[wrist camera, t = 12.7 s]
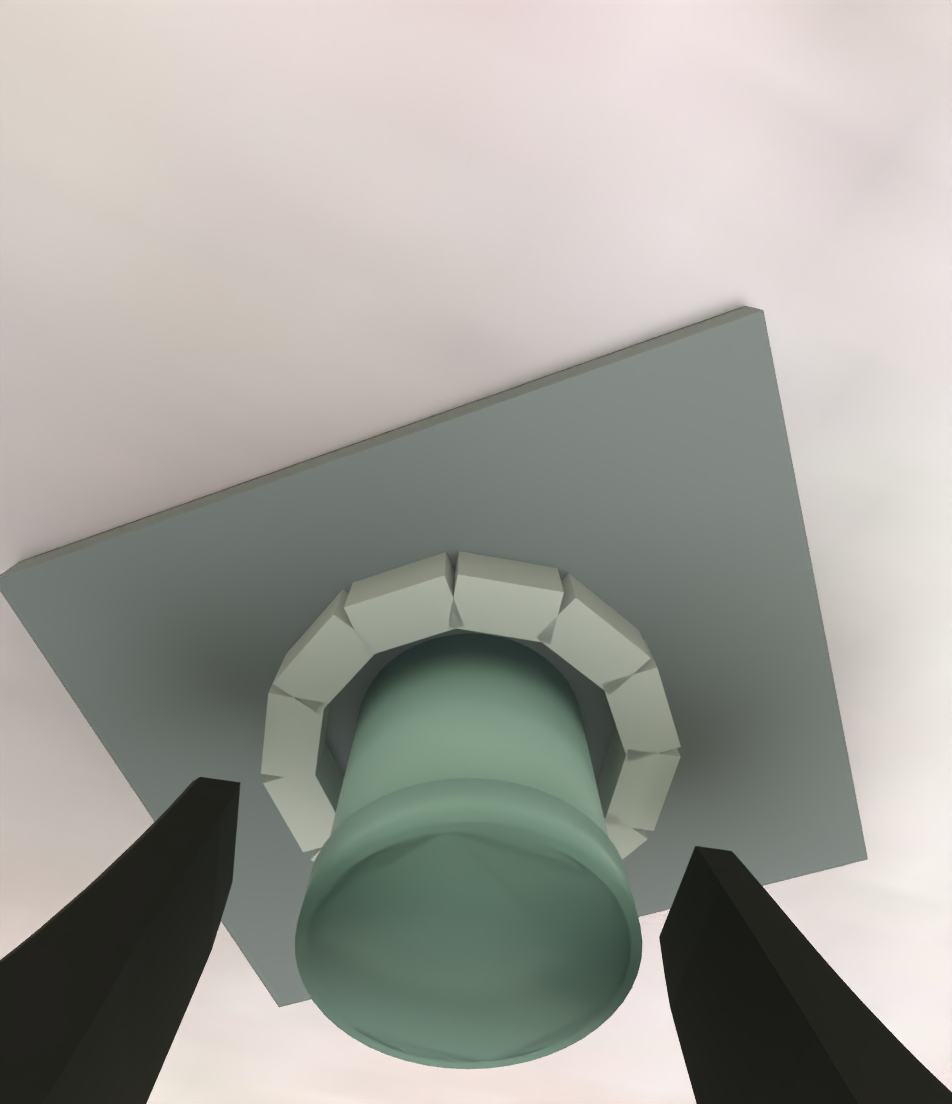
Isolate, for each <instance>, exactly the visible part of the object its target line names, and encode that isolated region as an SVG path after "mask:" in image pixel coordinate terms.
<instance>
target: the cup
mask: <svg viewBox="0 0 952 1104" xmlns="http://www.w3.org/2000/svg"><path fill="white" fill-rule="evenodd" d="M641 957H642V936H641V929H640V923H639V919H638V915H637V911H636V907H635V903H634V898H633V894H632V890H631V886H630V882H629V878H628V875H627V872H626V869H625V866H624V863H623V860H622V858H621V857H620V855H619V853H618V851H617V849H616V847H615V846H614V844H613V843H612V842H611V840H610V839H609V838H608V833H607V829H606V824H605V820H604V816H603V811H602V807H601V802H600V798H599V794H598V789H597V785H596V780H595V776H594V772H593V767H592V763H591V758H590V754H589V750H588V745H587V741H586V736H585V732H584V728H583V723H582V719H581V714H580V710H579V706H578V703H577V700H576V697H575V695H574V693H573V691H572V689H571V687H570V685H569V683H568V682H567V680H566V679H565V678H564V676H563V675H562V674H561V672H560V671H559V670H558V669H557V668H556V667H555V666H554V665H553V664H552V663H551V662H549V661H548V660H547V659H546V658H544V657H543V656H542V655H540V654H539V653H537V652H535V651H534V650H532V649H530V648H529V647H526V646H524V645H522V644H520V643H517V642H515V641H512V640H508V639H505V638H502V637H497V636H491V635H485V634H455V635H448V636H442V637H438V638H435V639H431V640H428V641H425V642H423V643H420V644H418V645H416V646H413V647H411V648H410V649H408V650H406V651H404V652H403V653H401V654H399V655H398V656H397V657H396V658H394V659H393V660H392V661H390V662H389V663H388V664H387V665H386V666H385V667H384V668H383V669H382V670H381V671H380V672H379V673H378V675H377V676H376V677H375V679H374V680H373V682H372V683H371V685H370V687H369V688H368V690H367V692H366V694H365V697H364V700H363V703H362V706H361V710H360V714H359V718H358V722H357V726H356V730H355V734H354V739H353V743H352V747H351V751H350V755H349V759H348V763H347V768H346V772H345V776H344V780H343V784H342V788H341V793H340V797H339V801H338V805H337V809H336V813H335V817H334V822H333V826H332V830H331V834H330V837H329V838H328V840H327V841H326V842H325V843H324V845H323V847H322V848H321V850H320V852H319V854H318V855H317V857H316V859H315V862H314V864H313V867H312V870H311V873H310V876H309V880H308V884H307V888H306V891H305V895H304V899H303V903H302V907H301V911H300V915H299V919H298V922H297V928H296V934H295V958H296V962H297V967H298V972H299V974H300V977H301V979H302V982H303V984H304V987H305V988H306V990H307V992H308V993H309V995H310V997H311V998H312V1000H313V1002H314V1003H315V1004H316V1005H317V1006H318V1008H319V1009H320V1010H321V1011H322V1012H323V1014H324V1015H325V1016H326V1017H327V1018H328V1019H330V1020H331V1021H332V1022H333V1023H334V1024H335V1025H336V1026H337V1027H338V1028H340V1029H341V1030H343V1031H344V1032H345V1033H347V1034H348V1035H350V1036H351V1037H352V1038H354V1039H356V1040H358V1041H359V1042H361V1043H363V1044H365V1045H367V1046H368V1047H370V1048H373V1049H375V1050H377V1051H380V1052H382V1053H384V1054H387V1055H390V1056H393V1057H396V1058H399V1059H402V1060H405V1061H409V1062H414V1063H418V1064H423V1065H427V1066H435V1067H443V1068H456V1069H481V1068H494V1067H502V1066H509V1065H514V1064H519V1063H523V1062H528V1061H531V1060H535V1059H538V1058H541V1057H544V1056H547V1055H550V1054H552V1053H555V1052H557V1051H559V1050H562V1049H564V1048H566V1047H568V1046H570V1045H572V1044H574V1043H575V1042H577V1041H579V1040H581V1039H583V1038H584V1037H586V1036H587V1035H588V1034H590V1033H591V1032H593V1031H594V1030H596V1029H597V1028H598V1027H599V1026H601V1025H602V1024H603V1023H604V1022H605V1021H606V1020H607V1019H608V1018H609V1017H611V1016H612V1014H613V1013H614V1012H615V1011H616V1010H617V1009H618V1007H619V1006H620V1005H621V1004H622V1003H623V1001H624V999H625V998H626V996H627V995H628V993H629V991H630V990H631V988H632V986H633V983H634V981H635V979H636V976H637V974H638V970H639V966H640V962H641Z"/></svg>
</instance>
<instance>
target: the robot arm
mask: <svg viewBox="0 0 952 1104" xmlns="http://www.w3.org/2000/svg"><path fill="white" fill-rule="evenodd" d="M240 783H241V782H235V781H227V780H220V779H213V778H206V777H199V778H197V779H196V780H194V781H192V782H191V784H190V785H189V786H188V787H187V788H186V789H185V790H184V791H183V792H182V794H181V795H180V796H179V797H178V798H177V799H176V800H175V801H174V802H173V803H172V804H171V806H170V807H169V808H168V809H167V810H166V811H165V812H164V813H163V814H162V815H161V816H160V817H159V818H158V819H157V820H156V821H155V822H154V823H153V824H152V825H151V826H150V827H149V828H148V829H147V830H146V831H145V832H144V833H143V834H142V835H141V836H140V837H139V838H138V839H137V840H136V841H135V842H134V843H133V844H132V845H131V846H130V847H129V848H128V849H127V850H126V851H125V852H124V853H123V854H122V855H121V856H120V857H119V858H118V859H117V860H116V861H115V862H113V863H112V864H111V865H110V866H109V867H108V868H107V869H106V870H105V871H104V872H103V873H102V874H101V875H100V876H99V877H98V878H97V879H96V880H94V881H93V882H92V883H91V884H90V885H89V886H88V887H87V888H86V889H85V890H83V891H82V892H81V893H80V894H79V895H78V896H77V897H75V898H74V899H73V900H72V901H71V902H70V903H68V904H67V905H66V906H65V907H64V908H63V909H61V910H60V911H59V912H58V913H57V914H56V915H55V916H53V917H52V918H51V919H50V920H49V921H48V922H46V923H45V924H44V925H43V926H42V927H41V928H40V929H38V930H37V931H36V932H35V933H34V934H32V935H31V936H30V937H29V938H27V939H26V940H25V941H24V942H23V943H21V944H20V945H19V946H18V947H16V948H15V949H14V950H13V951H11V952H10V953H9V954H8V955H6V956H5V957H4V958H2V959H1V960H0V1104H146V1103H147V1101H148V1098H149V1096H150V1094H151V1091H152V1089H153V1087H154V1084H155V1082H156V1080H157V1077H158V1075H159V1073H160V1070H161V1068H162V1065H163V1063H164V1061H165V1058H166V1056H167V1054H168V1051H169V1049H170V1047H171V1044H172V1042H173V1040H174V1037H175V1035H176V1033H177V1030H178V1028H179V1026H180V1023H181V1021H182V1019H183V1016H184V1014H185V1012H186V1009H187V1007H188V1005H189V1002H190V1000H191V998H192V995H193V993H194V991H195V988H196V986H197V983H198V981H199V979H200V976H201V974H202V972H203V969H204V967H205V964H206V962H207V960H208V957H209V955H210V952H211V950H212V947H213V944H214V940H215V937H216V934H217V931H218V928H219V925H220V922H221V918H222V915H223V912H224V909H225V905H226V902H227V899H228V895H229V892H230V889H231V886H232V882H233V870H234V858H235V845H236V833H237V820H238V808H239V795H240ZM659 938H660V945H661V952H662V959H663V966H664V973H665V979H666V985H667V991H668V997H669V1003H670V1008H671V1012H672V1015H673V1019H674V1023H675V1027H676V1031H677V1034H678V1038H679V1042H680V1045H681V1049H682V1053H683V1056H684V1060H685V1064H686V1067H687V1071H688V1074H689V1078H690V1081H691V1085H692V1089H693V1092H694V1096H695V1099H696V1103H697V1104H952V1092H951V1091H950V1090H949V1089H948V1088H947V1087H946V1086H944V1085H943V1084H942V1083H941V1082H940V1081H939V1080H938V1079H937V1078H936V1077H935V1076H934V1075H933V1074H932V1073H931V1072H930V1071H929V1070H928V1069H927V1068H926V1067H925V1066H924V1065H923V1064H922V1063H921V1062H920V1061H919V1060H918V1059H917V1058H916V1057H915V1056H914V1055H913V1054H912V1053H911V1052H910V1051H909V1050H908V1049H907V1048H906V1047H905V1046H904V1045H903V1044H902V1043H901V1042H900V1041H899V1040H898V1039H897V1038H896V1037H895V1036H894V1035H893V1034H892V1033H891V1032H890V1031H889V1030H888V1029H887V1028H886V1027H885V1025H884V1024H883V1023H882V1022H881V1021H880V1020H879V1019H878V1018H877V1017H876V1016H875V1015H874V1014H873V1013H872V1012H871V1011H870V1010H869V1009H868V1007H867V1006H866V1005H865V1004H864V1003H863V1002H862V1001H861V1000H860V999H859V998H858V997H857V996H856V994H855V993H854V992H853V991H852V990H851V989H850V988H849V987H848V986H847V985H846V983H845V982H844V981H843V980H842V979H841V978H840V977H839V976H838V974H837V973H836V972H835V971H834V970H833V969H832V968H831V967H830V965H829V964H828V963H827V962H826V961H825V960H824V959H823V957H822V956H821V955H820V954H819V953H818V952H817V950H816V949H815V948H814V947H813V946H812V945H811V943H810V942H809V941H808V940H807V939H806V938H805V936H804V935H803V934H802V933H801V932H800V931H799V929H798V928H797V927H796V926H795V925H794V923H793V922H792V921H791V920H790V919H789V918H788V916H787V915H786V914H785V913H784V912H783V910H782V909H781V908H780V907H779V906H778V904H777V903H776V902H775V901H774V900H773V898H772V897H771V896H770V895H769V894H768V892H767V891H766V890H765V889H764V888H763V886H762V885H761V884H760V883H759V882H758V880H757V879H756V878H755V877H754V876H753V875H752V873H751V872H750V871H749V870H748V869H747V868H746V866H745V865H744V864H743V863H742V862H741V861H740V860H739V858H738V857H737V856H736V855H735V854H734V853H733V852H732V851H729V850H722V849H715V848H707V847H700V846H695V848H694V850H693V853H692V855H691V858H690V860H689V863H688V866H687V868H686V871H685V873H684V876H683V878H682V881H681V883H680V886H679V888H678V891H677V894H676V896H675V899H674V901H673V904H672V906H671V909H670V911H669V914H668V916H667V919H666V921H665V924H664V927H663V929H662V932H661V934H660V937H659Z"/></svg>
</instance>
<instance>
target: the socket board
mask: <svg viewBox="0 0 952 1104" xmlns="http://www.w3.org/2000/svg"><path fill="white" fill-rule="evenodd" d="M0 591H1V593H2V594H3V596H4V597H5V599H6V600H7V602H8V603H9V605H10V606H11V608H12V609H13V611H14V612H15V614H16V615H17V617H18V618H19V619H20V621H21V622H22V624H23V625H24V627H25V628H26V630H27V631H28V633H29V634H30V636H31V637H32V639H33V640H34V642H35V643H36V645H37V646H38V648H39V649H40V651H41V652H42V654H43V655H44V657H45V658H46V660H47V661H48V663H49V664H50V666H51V667H52V669H53V670H54V672H55V673H56V675H57V676H58V678H59V679H60V681H61V682H62V684H63V685H64V687H65V688H66V690H67V691H68V693H69V694H70V696H71V697H72V699H73V700H74V702H75V703H76V705H77V706H78V708H79V709H80V711H81V712H82V714H83V715H84V717H85V718H86V720H87V721H88V723H89V724H90V726H91V727H92V729H93V730H94V732H95V733H96V735H97V736H98V738H99V739H100V741H101V742H102V744H103V745H104V747H105V748H106V750H107V751H108V752H109V754H110V755H111V757H112V758H113V760H114V761H115V763H116V764H117V766H118V767H119V769H120V770H121V772H122V773H123V775H124V776H125V778H126V779H127V781H128V782H129V784H130V785H131V787H132V788H133V790H134V791H135V793H136V794H137V796H138V797H139V799H140V800H141V802H142V803H143V805H144V806H145V808H146V809H147V811H148V812H149V814H150V815H151V817H152V818H153V820H154V821H156V820H157V819H158V818H159V817H160V816H161V815H162V814H163V813H164V812H165V811H166V810H167V809H168V808H169V807H170V806H171V804H172V803H173V802H174V801H175V800H176V799H177V798H178V797H179V796H180V795H181V794H182V792H183V791H184V790H185V789H186V788H187V787H188V786H189V785H190V784H191V782H192V781H194V780H196V779H197V778H199V777H206V778H213V779H220V780H227V781H235V782H241V783H240V795H239V808H238V820H237V833H236V845H235V858H234V870H233V882H232V886H231V889H230V892H229V895H228V899H227V902H226V905H225V909H224V912H223V915H222V918H221V921H222V923H223V924H224V926H225V927H226V929H227V930H228V932H229V933H230V935H231V936H232V938H233V939H234V941H235V942H236V944H237V945H238V947H239V948H240V950H241V951H242V953H243V954H244V956H245V957H246V959H247V960H248V962H249V963H250V965H251V966H252V968H253V969H254V971H255V972H256V974H257V975H258V977H259V978H260V980H261V981H262V983H263V984H264V986H265V987H266V989H267V990H268V992H269V993H270V995H271V996H272V998H273V999H274V1001H275V1002H276V1004H277V1005H278V1007H282V1006H286V1005H290V1004H294V1003H298V1002H302V1001H306V1000H310V999H312V998H311V997H310V995H309V993H308V992H307V990H306V988H305V987H304V984H303V982H302V979H301V977H300V974H299V972H298V967H297V962H296V958H295V934H296V928H297V922H298V919H299V915H300V911H301V907H302V903H303V899H304V895H305V891H306V888H307V884H308V880H309V876H310V873H311V870H312V867H313V864H314V862H315V859H316V857H317V855H318V854H319V852H320V850H321V848H322V847H323V845H324V843H325V842H326V841H327V840H328V838H329V837H330V834H331V830H332V826H333V822H334V817H335V813H336V809H337V805H338V801H339V797H340V793H341V788H342V784H343V780H344V776H345V772H346V768H347V763H348V759H349V755H350V751H351V747H352V743H353V739H354V734H355V730H356V726H357V722H358V718H359V714H360V710H361V706H362V703H363V700H364V697H365V694H366V692H367V690H368V688H369V687H370V685H371V683H372V682H373V680H374V679H375V677H376V676H377V675H378V673H379V672H380V671H381V670H382V669H383V668H384V667H385V666H386V665H387V664H388V663H389V662H390V661H392V660H393V659H394V658H396V657H397V656H398V655H399V654H401V653H403V652H404V651H406V650H408V649H410V648H411V647H413V646H416V645H418V644H420V643H423V642H425V641H428V640H431V639H435V638H438V637H442V636H448V635H455V634H485V635H491V636H497V637H502V638H505V639H508V640H512V641H515V642H517V643H520V644H522V645H524V646H526V647H529V648H530V649H532V650H534V651H535V652H537V653H539V654H540V655H542V656H543V657H544V658H546V659H547V660H548V661H549V662H551V663H552V664H553V665H554V666H555V667H556V668H557V669H558V670H559V671H560V672H561V674H562V675H563V676H564V678H565V679H566V680H567V682H568V683H569V685H570V687H571V689H572V691H573V693H574V695H575V697H576V700H577V703H578V706H579V710H580V714H581V719H582V723H583V728H584V732H585V736H586V741H587V745H588V750H589V754H590V758H591V763H592V767H593V772H594V776H595V780H596V785H597V789H598V794H599V798H600V802H601V807H602V811H603V816H604V820H605V824H606V829H607V833H608V838H609V839H610V840H611V842H612V843H613V844H614V846H615V847H616V849H617V851H618V853H619V855H620V857H621V858H622V860H623V863H624V866H625V869H626V872H627V875H628V878H629V882H630V886H631V890H632V894H633V898H634V903H635V907H636V911H637V915H638V917H640V916H644V915H648V914H652V913H656V912H660V911H664V910H668V909H671V906H672V904H673V901H674V899H675V896H676V894H677V891H678V888H679V886H680V883H681V881H682V878H683V876H684V873H685V871H686V868H687V866H688V863H689V860H690V858H691V855H692V853H693V850H694V848H695V846H700V847H707V848H715V849H722V850H729V851H732V852H733V853H734V854H735V855H736V856H737V857H738V858H739V860H740V861H741V862H742V863H743V864H744V865H745V866H746V868H747V869H748V870H749V871H750V872H751V873H752V875H753V876H754V877H755V878H756V879H757V880H758V882H759V883H760V884H761V885H762V886H763V885H767V884H771V883H775V882H779V881H783V880H787V879H791V878H795V877H799V876H803V875H807V874H811V873H815V872H819V871H823V870H827V869H831V868H835V867H839V866H843V865H847V864H851V863H855V862H859V861H863V860H867V859H868V858H867V852H866V847H865V842H864V837H863V831H862V826H861V821H860V816H859V810H858V805H857V800H856V795H855V789H854V784H853V779H852V774H851V768H850V763H849V758H848V753H847V747H846V742H845V737H844V732H843V726H842V721H841V716H840V711H839V705H838V700H837V695H836V690H835V684H834V679H833V674H832V669H831V663H830V658H829V653H828V648H827V642H826V637H825V632H824V627H823V621H822V616H821V611H820V606H819V600H818V595H817V590H816V585H815V579H814V574H813V569H812V564H811V558H810V553H809V548H808V543H807V537H806V532H805V527H804V522H803V516H802V511H801V506H800V501H799V495H798V490H797V485H796V480H795V474H794V469H793V464H792V459H791V453H790V448H789V443H788V438H787V432H786V427H785V422H784V417H783V411H782V406H781V401H780V396H779V390H778V385H777V380H776V375H775V369H774V364H773V359H772V354H771V348H770V343H769V338H768V333H767V327H766V322H765V317H764V312H763V310H760V309H756V308H752V307H747V306H745V307H742V308H739V309H736V310H733V311H731V312H728V313H725V314H722V315H719V316H716V317H714V318H711V319H708V320H705V321H702V322H699V323H696V324H694V325H691V326H688V327H685V328H682V329H679V330H677V331H674V332H671V333H668V334H665V335H662V336H660V337H657V338H654V339H651V340H648V341H645V342H643V343H640V344H637V345H634V346H631V347H628V348H626V349H623V350H620V351H617V352H614V353H611V354H609V355H606V356H603V357H600V358H597V359H594V360H592V361H589V362H586V363H583V364H580V365H577V366H574V367H572V368H569V369H566V370H563V371H560V372H557V373H555V374H552V375H549V376H546V377H543V378H540V379H538V380H535V381H532V382H529V383H526V384H523V385H521V386H518V387H515V388H512V389H509V390H506V391H504V392H501V393H498V394H495V395H492V396H489V397H487V398H484V399H481V400H478V401H475V402H472V403H470V404H467V405H464V406H461V407H458V408H455V409H452V410H450V411H447V412H444V413H441V414H438V415H435V416H433V417H430V418H427V419H424V420H421V421H418V422H416V423H413V424H410V425H407V426H404V427H401V428H399V429H396V430H393V431H390V432H387V433H384V434H382V435H379V436H376V437H373V438H370V439H367V440H365V441H362V442H359V443H356V444H353V445H350V446H348V447H345V448H342V449H339V450H336V451H333V452H330V453H328V454H325V455H322V456H319V457H316V458H313V459H311V460H308V461H305V462H302V463H299V464H296V465H294V466H291V467H288V468H285V469H282V470H279V471H277V472H274V473H271V474H268V475H265V476H262V477H260V478H257V479H254V480H251V481H248V482H245V483H243V484H240V485H237V486H234V487H231V488H228V489H226V490H223V491H220V492H217V493H214V494H211V495H208V496H206V497H203V498H200V499H197V500H194V501H191V502H189V503H186V504H183V505H180V506H177V507H174V508H172V509H169V510H166V511H163V512H160V513H157V514H155V515H152V516H149V517H146V518H143V519H140V520H138V521H135V522H132V523H129V524H126V525H123V526H121V527H118V528H115V529H112V530H109V531H106V532H104V533H101V534H98V535H95V536H92V537H89V538H86V539H84V540H81V541H78V542H75V543H72V544H69V545H67V546H64V547H61V548H58V549H55V550H52V551H50V552H47V553H44V554H41V555H38V556H35V557H33V558H30V559H27V560H24V561H21V562H18V563H17V564H16V565H14V566H13V567H11V568H10V569H8V570H7V571H6V572H4V573H3V574H1V575H0Z"/></svg>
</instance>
